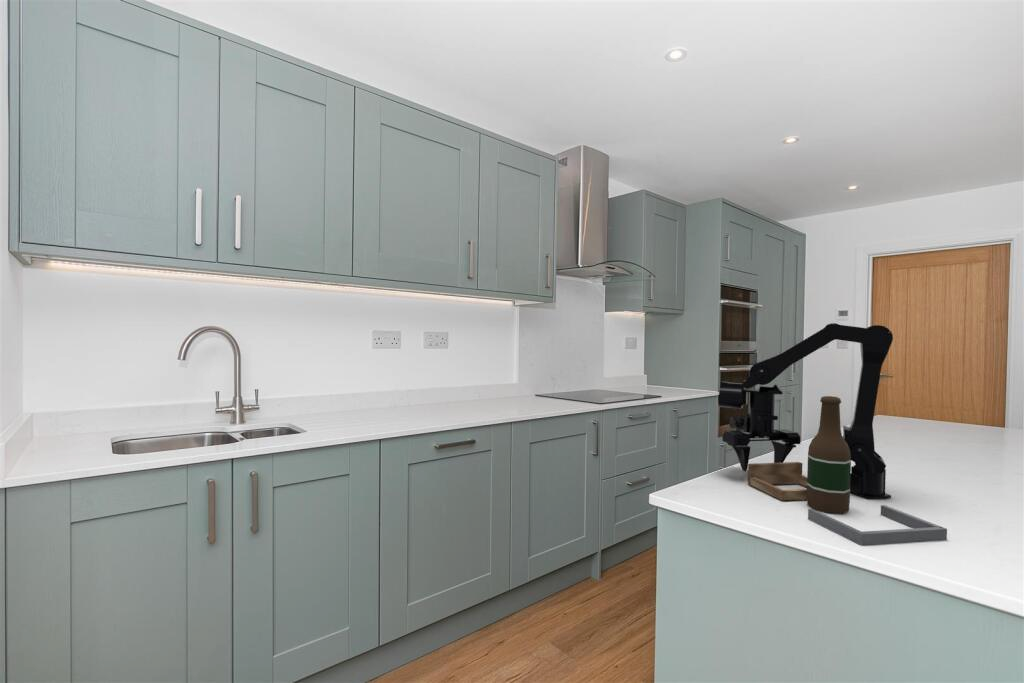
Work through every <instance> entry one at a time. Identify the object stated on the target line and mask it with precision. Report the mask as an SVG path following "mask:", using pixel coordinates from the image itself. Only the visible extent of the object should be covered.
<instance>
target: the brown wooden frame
mask: <svg viewBox="0 0 1024 683" xmlns="http://www.w3.org/2000/svg"><path fill="white" fill-rule="evenodd" d="M789 484H791V485H792V484H793V485H794V484H795V485H796V484H798V485H801V486H803V487H806V488H794V489H783V488H780V487H778V486H776V485H789ZM747 485H750V486H752V487H754V488H755V489H757V490H759V491H762V492H764V493H766V494H768V495H770V496H772V497H775V498H777V499H778V500H781V501H796V500H807V476H805V475H803V462H800V461H789V462H786V461H784V462H783V463H774V462H759V463H758V462H757V463H756V462H755V463H748V467H747Z"/></svg>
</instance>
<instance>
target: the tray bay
mask: <svg viewBox="0 0 1024 683" xmlns="http://www.w3.org/2000/svg"><path fill="white" fill-rule="evenodd" d="M880 516H882V517H884V518H887V519H889V520H892V521H894V522H897V523H899V524H901V525H904V526H906V527H909V528H901V529H885V530H884V529H883V530H880V529H879V530H866V531H862V530H859V529H856V528H855V527H853V526H851V525H848V524H846V523H844V522H842V521H839V520H837V519H835V518H833V517H831V516H829V515H827V514H825V513H824V512H821V511H818V510H814V509H813V508H808V509H807V519H808V520H809V521H811V522H813V523H816V524H817V525H819V526H821V527H823V528H825V529H827V530H830V531H831V532H833V533H835V534H838V535H839V536H842V537H844V538H845V539H848V540H850V541H852V542H853V543H855V544H858V545H860V546H873V545H874V546H875V545H885V544H901V543H902V544H903V543H904V544H905V543H916V542H917V543H918V542H931V541H932V542H933V541H947V540H948V538H947V537H948V528H945V527H943V526H941V525H938V524H935V523H932V522H930V521H927V520H925V519H922V518H920V517H917V516H916V515H915V516H914V515H912V514H910V513H906V512H904V511H902V510H899V509H896V508H894V507H891V506H888V505H885V504H883V505H882V504H881V505H880Z"/></svg>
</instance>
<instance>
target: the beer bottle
mask: <svg viewBox="0 0 1024 683" xmlns="http://www.w3.org/2000/svg"><path fill="white" fill-rule="evenodd" d="M819 401H820V403H821V409H820V418H819V427H818V430H817V433H816V435H815V436H814V437H813V438H812V439H811V441H810V443H809V446H808V451H807V452H808V453H807V470H806V471H807V474H806V477H807V487H806V489H807V499H806V504H807V505H808V506H809V507H810V509H814V510H816V511H818V512H820V513H824V514H825V513H826V514H833V515H844V514H846V513H847V512H849V510H850V503H851V502H850V501H851V492H850V476H851V466H852V460H851V452H850V449H849V446H848V444H847V442H846V441H845V439H844V438H843V433H842V429H841V411H840V408H841V406H840V404H842V400H841V398H840V397H838V396H831V395H829V396H828V395H826V396H824V395H823V396H821V398H820V400H819Z"/></svg>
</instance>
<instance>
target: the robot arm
mask: <svg viewBox="0 0 1024 683" xmlns="http://www.w3.org/2000/svg"><path fill="white" fill-rule="evenodd" d="M835 340H838V341H843V342H844V341H845V342H852V343H858V344H860V345H859V346H860V356H861V358H860V359H861V367H860V374H859V381H858V386H857V393H856V401H855V406H854V412H853V419H852V422H851V424H850V426H846V425H842V430H843V431H842V432H843V433H842V437H843V438H844V439H845V441H846V442H847V444H848V446H849V449H850V452H851V462H854V465H853V466H852V465H851V476H850V494H851V493H852V494H855V495H857V496H860V497H862V498H865V499H869V500H870V499H871V500H872V499H891V498H892V495H891V494H888V493H886V479H887V478H886V475H887V474H886V471H887V470H886V467H887V465H886V463H885V461H884V458H882V456H881V455H880V454H879V453H878V452H876V451H875V436H874V427H873V425H874V424H873V422H874V418H875V417H874V416H875V410H876V404H877V399H878V392H879V385H880V380H881V379H880V378H881V373H882V368H883V365H884V363H885V360H886V357H887V356H888V353H889V351H890V348H891V346H892V343H893V340H894V336H893V333H892V331H891V330H890V329H889V328H888V327H886V326H884V325H879V324H875V325H871V326H868V327H860V326H852V325H844V324H843V325H842V324H838V323H835V322H831V323H828V324H826V325H825V326H824V327H823V328H822V329H820V330H818V331H817V332H815V333H813V334H812V335H810V336H809V337H808V336H807V337H806V338H805V339H803V340H801V341H799V343H797V344H795V345H793V346H792V347H789V348H788V349H787V350H785V351H784V352H782V353H779V354H777V355H776V354H775V356H774V355H773V356H772V357H769V358H766V359H764V360H761V361H759V362H756V363H754V364H753V365H752V366H751V367H750V369H749V375H748V377H747V378H746V379H744V380H743V381H742V382H743V383H740V382H729V381H721V382H720V384H719V385H720V386H719V392H718V395H717V402H718V407H720V408H728V409H729V408H730V409H743V408H744V406H747V405H748V400H749V412H746V414H745V418H740V416H739V415H733V416H732V415H731V416H730V417H729V423H728V424H729V428H730V429H731V430H724V432H723V433H722V442H724V443H726V444H727V445H728V446H731V448H733V449H734V451H735V453H736V456H737V459H738V462H739V464H740V467H741V470H742V472H748V464H749V459H750V455H751V454H750V453H751V446H749V444H750V442H767V441H768V442H771V444H772V446H773V463H785V461H786V459H787V457H788V456H789V454H790V453H791V452H792V450H793V449H794V448H795V449H796V448H797V445H801V440H802V439H801V438H802V437H801V435H800V434H799V432H796V431H794V430H793V431H792V430H789V429H775V421H778V420H779V416H778V415H776V414H775V400H776V399H775V398H776V396H775V395H783V393H784V390H783V389H781V388H780V387H779V386H778V384H776V383H775V384H774V385H773V386H764V385H768V384H770V383H771V382H772V381H774V380H775V379H776V378H777V377H778V376H780V375H781V374H782V373H783V372H785V371H786V370H787V369H788V368H789V367H790V366H792V365H794V364H795V363H797V362H799V361H800V360H802V359H804V358H805V357H807V356H808V355H811V354H812V353H815V352H816V351H817V350H819V349H821V348H823V347H824V346H827V345H828V344H829V343H831V342H833V341H835ZM757 385H761V386H759V389H752V388H753V387H756V386H757Z"/></svg>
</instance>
